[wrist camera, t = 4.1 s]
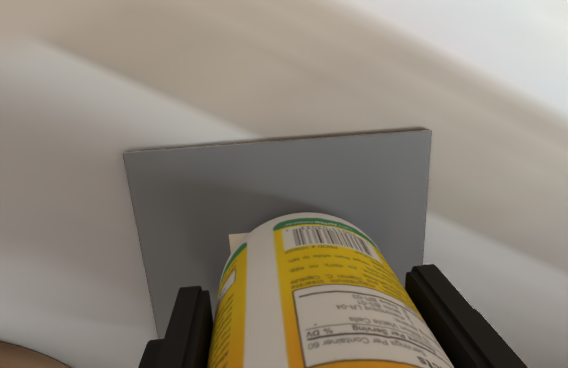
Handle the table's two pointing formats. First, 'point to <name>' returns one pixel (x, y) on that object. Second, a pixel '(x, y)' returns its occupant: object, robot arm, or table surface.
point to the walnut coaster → (25, 358)
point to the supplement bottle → (316, 302)
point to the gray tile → (272, 201)
